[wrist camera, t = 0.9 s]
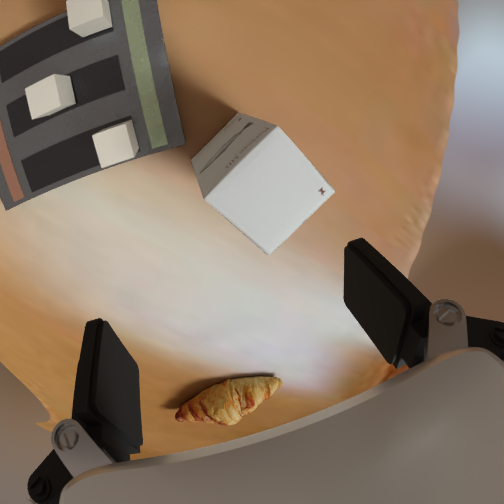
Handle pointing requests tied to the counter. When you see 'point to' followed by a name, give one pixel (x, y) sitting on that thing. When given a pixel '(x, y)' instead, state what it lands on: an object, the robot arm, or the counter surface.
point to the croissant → (228, 400)
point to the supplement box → (259, 180)
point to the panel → (83, 98)
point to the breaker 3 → (116, 143)
